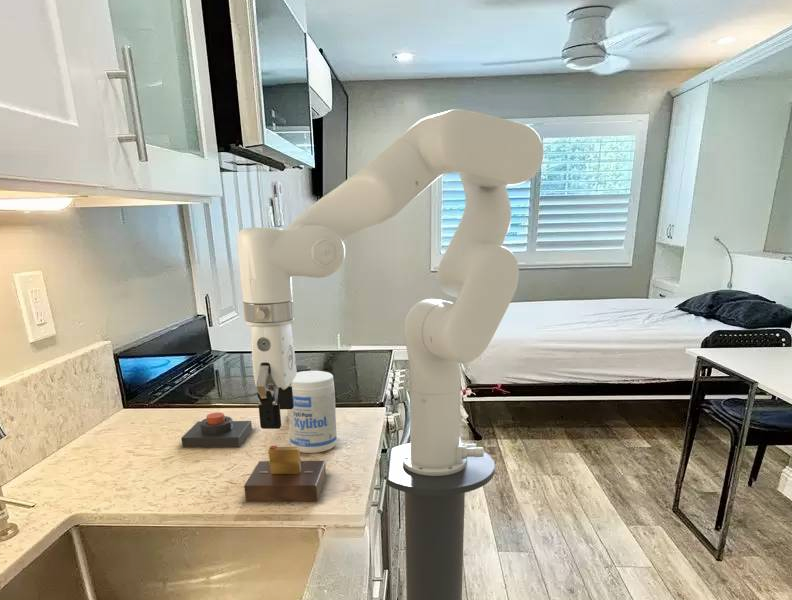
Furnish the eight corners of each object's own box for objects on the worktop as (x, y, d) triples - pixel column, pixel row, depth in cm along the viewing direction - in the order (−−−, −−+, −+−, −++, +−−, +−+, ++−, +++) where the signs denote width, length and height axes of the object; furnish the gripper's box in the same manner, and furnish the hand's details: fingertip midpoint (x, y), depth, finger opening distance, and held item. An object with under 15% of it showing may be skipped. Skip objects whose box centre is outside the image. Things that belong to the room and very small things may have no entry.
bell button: (227, 419, 123) (226, 412, 122) (222, 425, 119) (220, 417, 119) (210, 420, 123) (209, 412, 122) (205, 425, 120) (204, 418, 119)
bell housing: (252, 430, 127) (250, 413, 125) (239, 447, 117) (237, 429, 116) (199, 430, 127) (196, 413, 126) (182, 447, 118) (179, 429, 117)
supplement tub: (295, 457, 111) (288, 385, 106) (286, 441, 120) (280, 373, 114) (343, 450, 114) (339, 379, 109) (331, 434, 123) (327, 367, 117)
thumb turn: (301, 470, 98) (298, 445, 97) (299, 473, 97) (297, 448, 95) (272, 470, 99) (269, 445, 97) (270, 474, 97) (267, 448, 96)
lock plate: (326, 475, 103) (324, 459, 102) (317, 501, 94) (316, 484, 93) (261, 476, 104) (259, 460, 103) (246, 501, 95) (243, 484, 94)
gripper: (281, 322, 80) (290, 436, 86) (303, 305, 96) (309, 402, 102) (228, 322, 80) (240, 436, 86) (259, 305, 96) (268, 402, 102)
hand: (278, 418), depth 94 cm, fingers open, 9 cm apart
